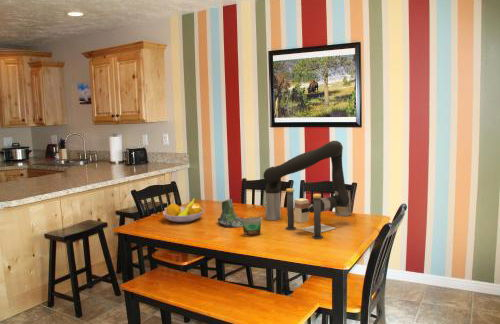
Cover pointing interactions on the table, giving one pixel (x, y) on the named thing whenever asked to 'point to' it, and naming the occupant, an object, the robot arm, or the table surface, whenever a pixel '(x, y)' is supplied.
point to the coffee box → (343, 210)
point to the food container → (251, 226)
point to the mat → (323, 228)
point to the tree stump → (229, 215)
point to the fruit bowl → (183, 212)
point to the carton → (298, 206)
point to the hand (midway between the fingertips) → (298, 210)
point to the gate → (316, 213)
